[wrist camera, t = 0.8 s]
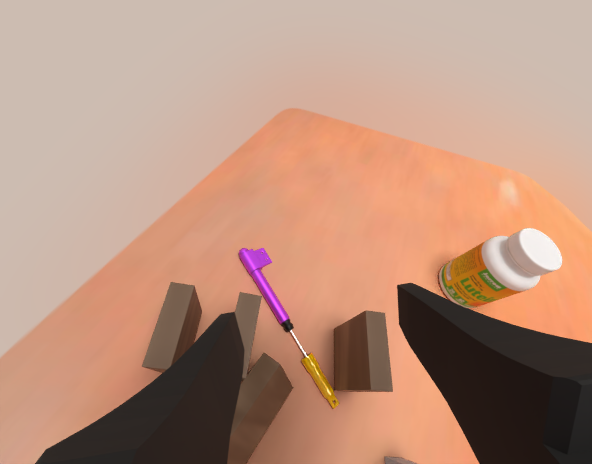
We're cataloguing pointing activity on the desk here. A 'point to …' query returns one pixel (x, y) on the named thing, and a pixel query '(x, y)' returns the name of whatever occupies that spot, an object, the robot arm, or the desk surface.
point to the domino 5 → (397, 461)
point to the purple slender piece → (284, 316)
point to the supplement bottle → (499, 268)
